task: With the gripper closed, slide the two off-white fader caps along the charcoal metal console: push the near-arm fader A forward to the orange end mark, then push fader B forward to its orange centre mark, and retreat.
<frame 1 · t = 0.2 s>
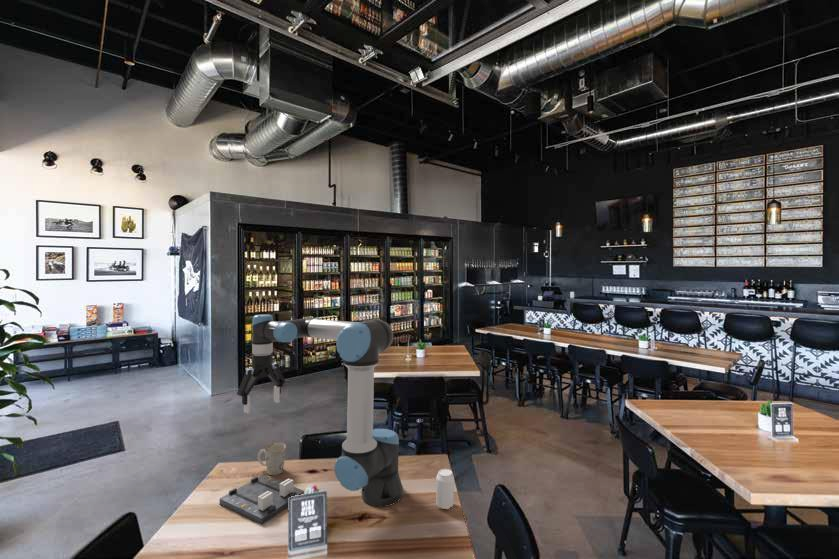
hand: (262, 407, 150), 28 cm above the table, fingers open, 13 cm apart
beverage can: (444, 506, 132), on the table
console: (262, 500, 134), on the table
fader a: (286, 487, 135), point 4 cm above the table, slide at -7.0 cm
fader b: (265, 500, 127), point 4 cm above the table, slide at -7.0 cm
mug: (270, 471, 154), on the table
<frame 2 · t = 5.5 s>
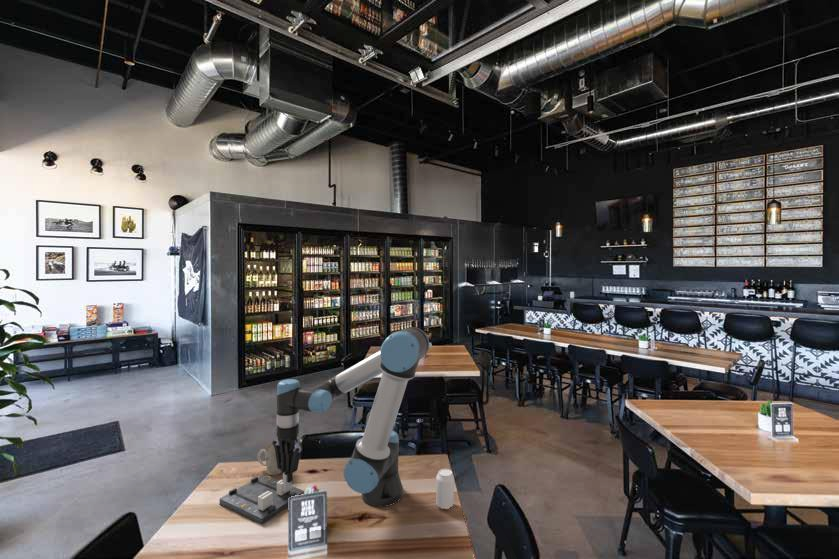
hand: (287, 489, 134), 4 cm above the table, fingers closed
fader a: (283, 486, 135), point 4 cm above the table, slide at -5.5 cm, touching gripper
everything else where it was.
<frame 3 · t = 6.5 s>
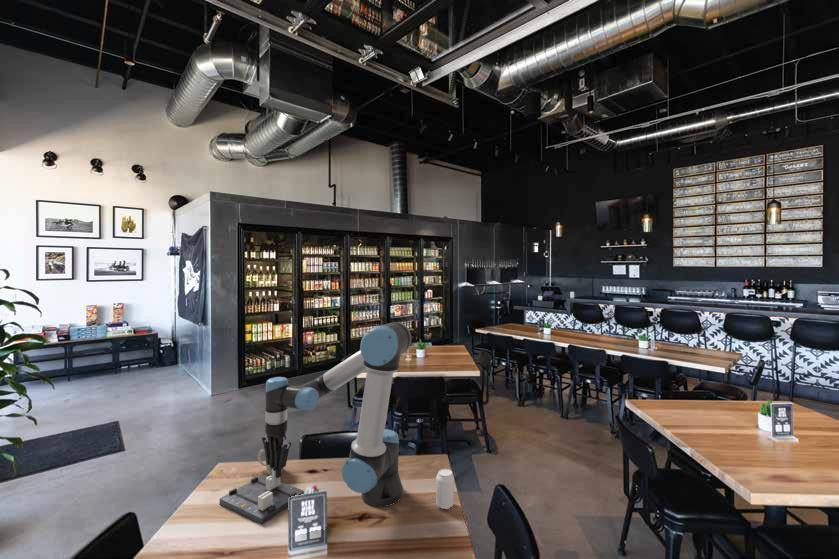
hand: (275, 485, 137), 4 cm above the table, fingers closed
fader a: (272, 481, 138), point 4 cm above the table, slide at 0.4 cm, touching gripper
everything else where it was.
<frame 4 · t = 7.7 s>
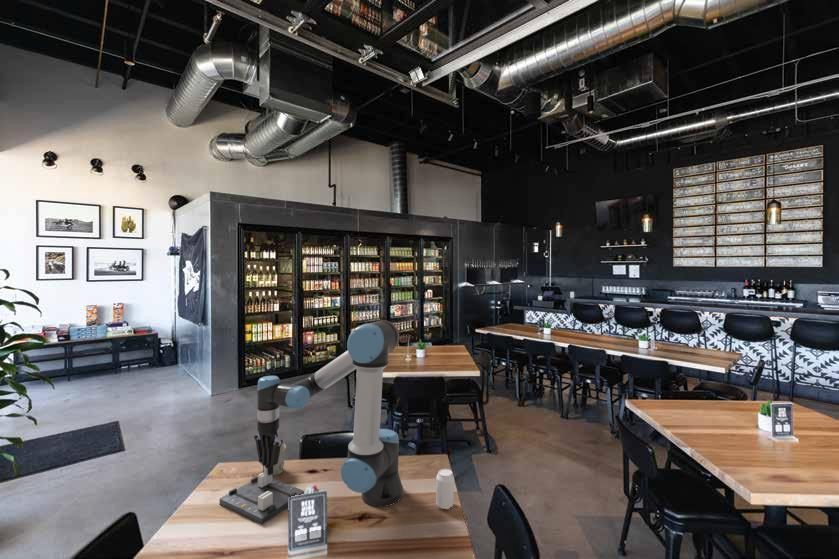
hand: (268, 482, 139), 3 cm above the table, fingers closed
fader a: (264, 478, 140), point 4 cm above the table, slide at 4.6 cm, touching gripper
everything else where it was.
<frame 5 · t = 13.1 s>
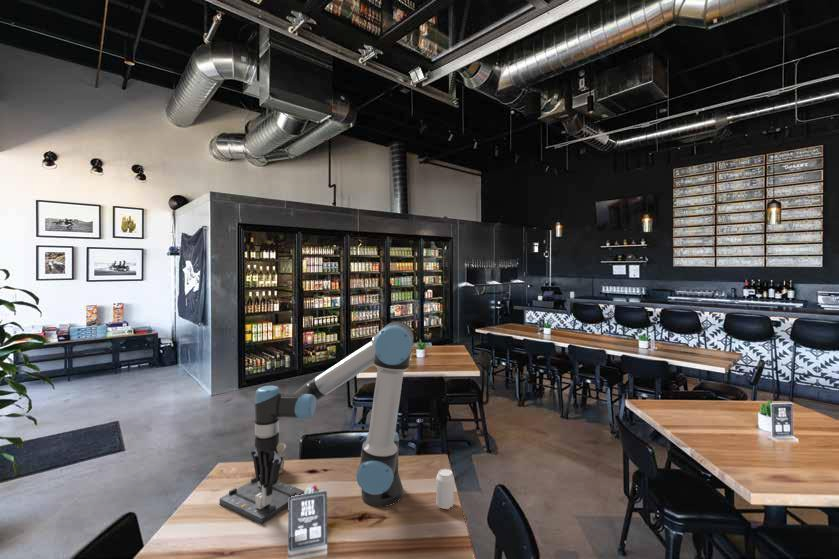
hand: (266, 503, 126), 4 cm above the table, fingers closed
fader a: (264, 478, 140), point 4 cm above the table, slide at 4.7 cm
fader b: (262, 499, 127), point 4 cm above the table, slide at -5.7 cm, touching gripper
everything else where it was.
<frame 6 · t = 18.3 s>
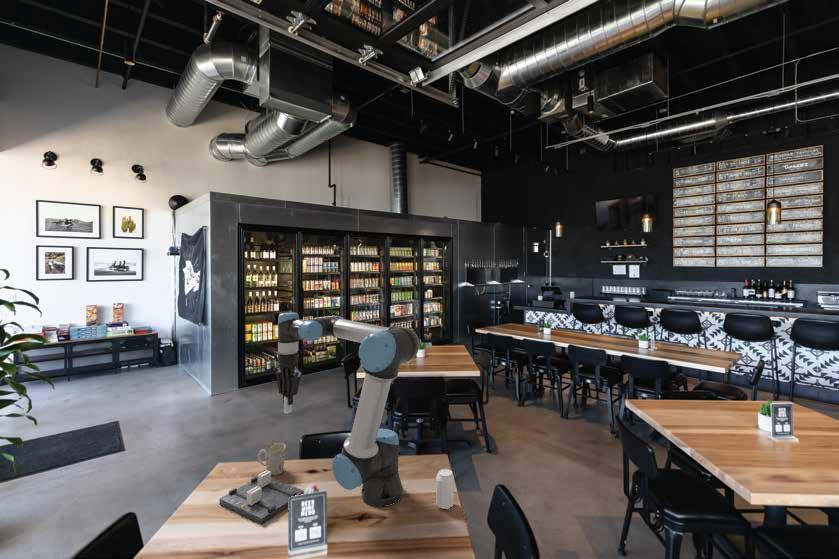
hand: (288, 412, 147), 26 cm above the table, fingers closed
fader b: (254, 495, 129), point 4 cm above the table, slide at -1.3 cm
everything else where it was.
at the end: fader a slide at 4.7 cm; fader b slide at -1.3 cm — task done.
